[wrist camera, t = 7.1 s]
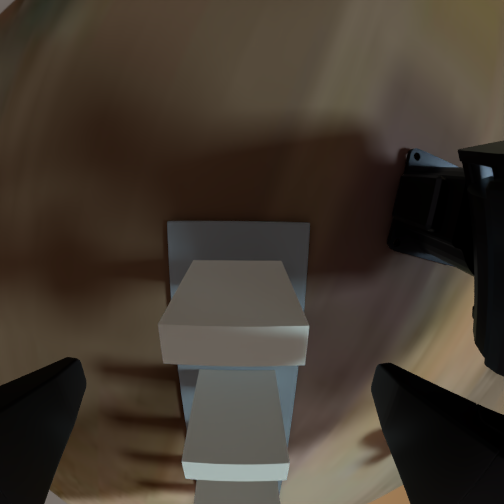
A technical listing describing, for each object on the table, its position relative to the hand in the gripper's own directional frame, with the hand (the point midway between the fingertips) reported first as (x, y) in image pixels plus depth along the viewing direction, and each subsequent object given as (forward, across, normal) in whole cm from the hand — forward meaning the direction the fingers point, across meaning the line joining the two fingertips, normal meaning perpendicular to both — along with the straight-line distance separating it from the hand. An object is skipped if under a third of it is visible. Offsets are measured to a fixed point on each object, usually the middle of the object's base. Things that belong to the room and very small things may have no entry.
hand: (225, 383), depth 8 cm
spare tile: (+10, 0, 0) cm, 10 cm away
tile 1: (+10, 0, +8) cm, 13 cm away
